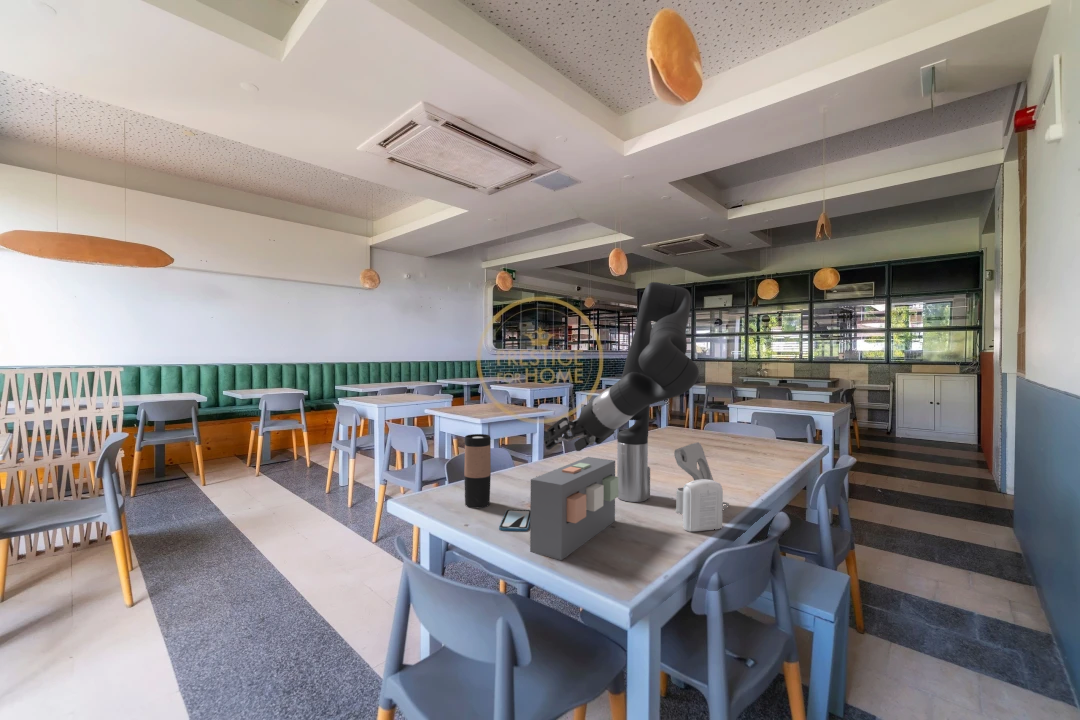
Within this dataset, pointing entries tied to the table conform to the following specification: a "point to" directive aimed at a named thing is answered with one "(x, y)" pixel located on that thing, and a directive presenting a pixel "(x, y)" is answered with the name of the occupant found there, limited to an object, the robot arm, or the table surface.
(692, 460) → the phone holder
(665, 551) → the table surface
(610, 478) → the sage key
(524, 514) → the smartphone
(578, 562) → the table surface
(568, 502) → the terracotta key
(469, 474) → the travel mug
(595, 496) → the white key
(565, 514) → the keypad console
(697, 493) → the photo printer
